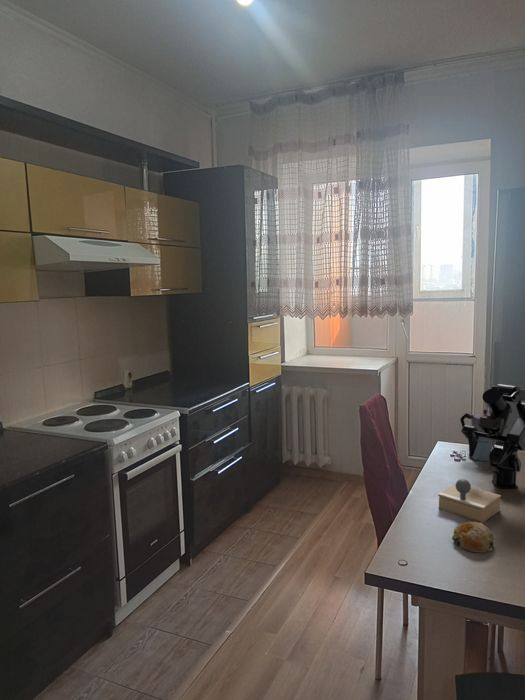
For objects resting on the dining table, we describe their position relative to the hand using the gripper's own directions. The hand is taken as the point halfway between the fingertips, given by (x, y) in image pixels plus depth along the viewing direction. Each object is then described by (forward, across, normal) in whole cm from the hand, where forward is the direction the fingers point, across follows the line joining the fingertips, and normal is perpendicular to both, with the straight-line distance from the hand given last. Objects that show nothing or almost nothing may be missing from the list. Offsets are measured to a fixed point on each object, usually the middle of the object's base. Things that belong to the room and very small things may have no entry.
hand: (484, 460), depth 167 cm
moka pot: (-13, -18, +38) cm, 44 cm away
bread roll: (+29, +10, -14) cm, 34 cm away
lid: (+13, 0, -2) cm, 13 cm away
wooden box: (+17, 0, +1) cm, 17 cm away
